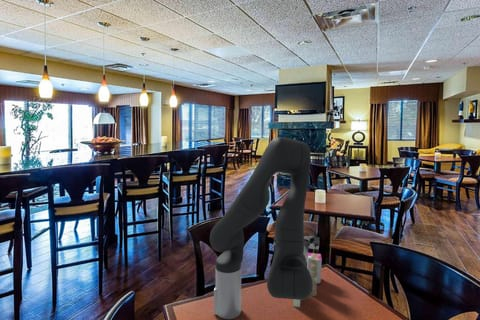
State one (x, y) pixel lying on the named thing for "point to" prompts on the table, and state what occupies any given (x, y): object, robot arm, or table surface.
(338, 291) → the table surface
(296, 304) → the tile
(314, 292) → the tile
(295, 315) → the table surface
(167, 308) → the table surface
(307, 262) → the supplement box
